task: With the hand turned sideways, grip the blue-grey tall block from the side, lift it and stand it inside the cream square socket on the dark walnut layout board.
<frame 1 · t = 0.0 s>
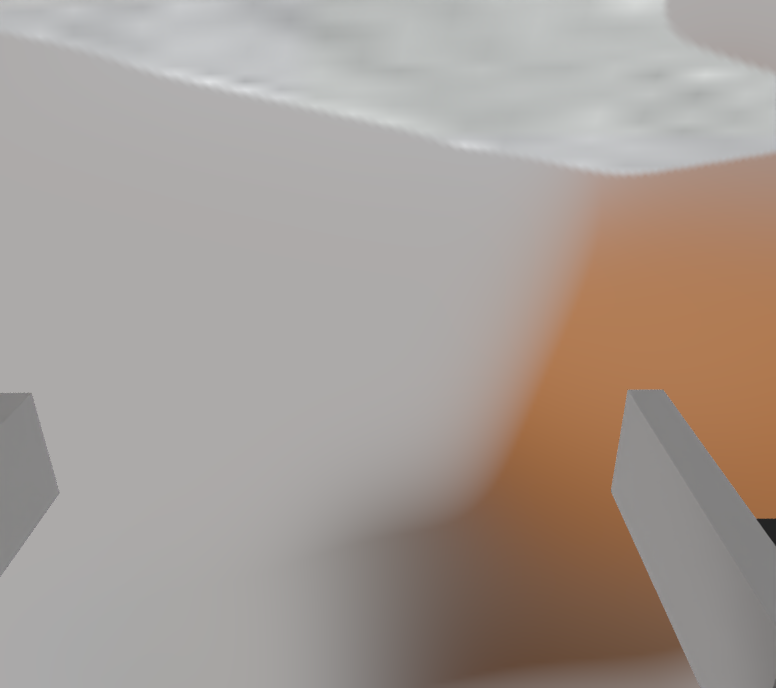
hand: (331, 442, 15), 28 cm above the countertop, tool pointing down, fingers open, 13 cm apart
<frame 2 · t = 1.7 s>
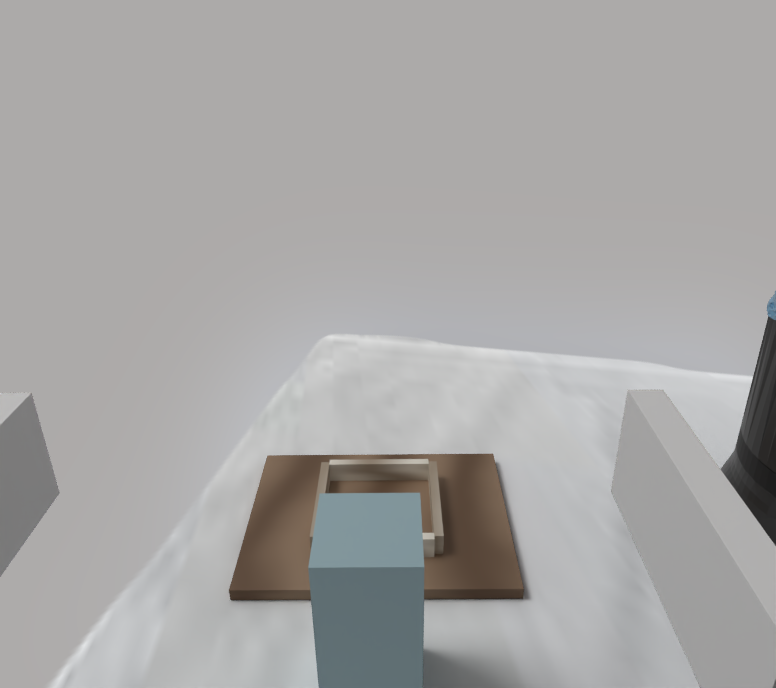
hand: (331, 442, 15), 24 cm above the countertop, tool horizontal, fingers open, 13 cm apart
blue-grey tall block: (373, 687, 36), on the countertop
layout board: (378, 522, 48), on the countertop
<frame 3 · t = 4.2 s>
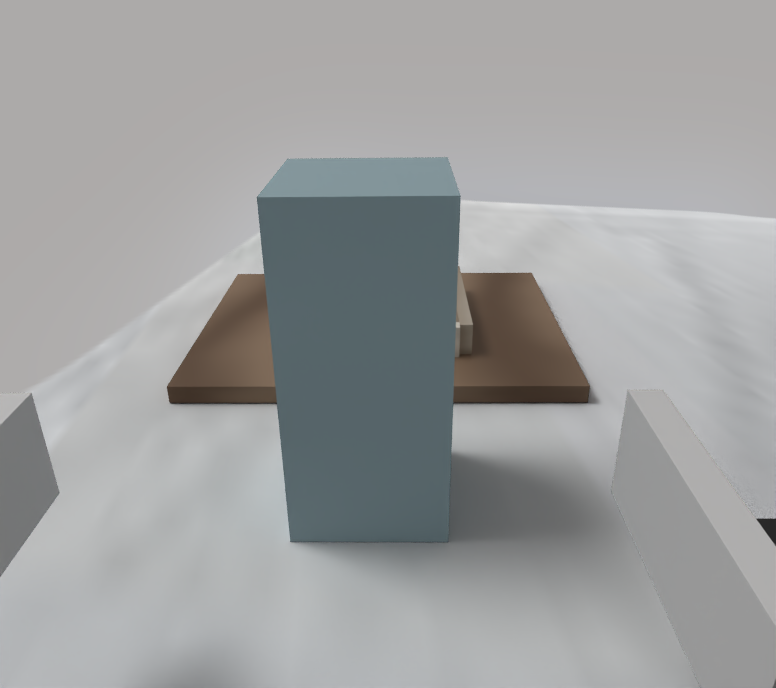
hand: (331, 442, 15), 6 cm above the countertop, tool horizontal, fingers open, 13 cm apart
blue-grey tall block: (372, 491, 24), on the countertop
layout board: (381, 333, 35), on the countertop
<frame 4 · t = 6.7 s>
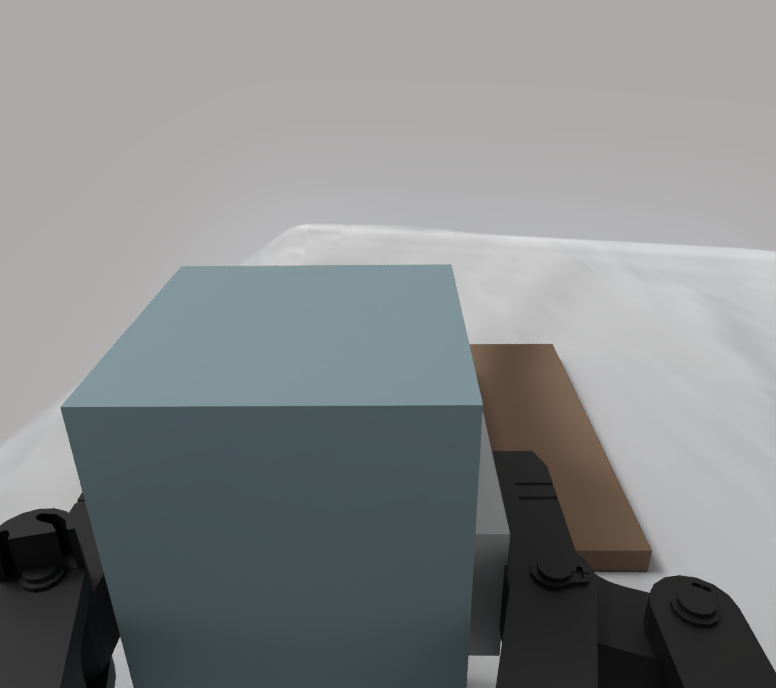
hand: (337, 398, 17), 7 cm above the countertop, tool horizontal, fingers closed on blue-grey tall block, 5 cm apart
layout board: (360, 440, 27), on the countertop
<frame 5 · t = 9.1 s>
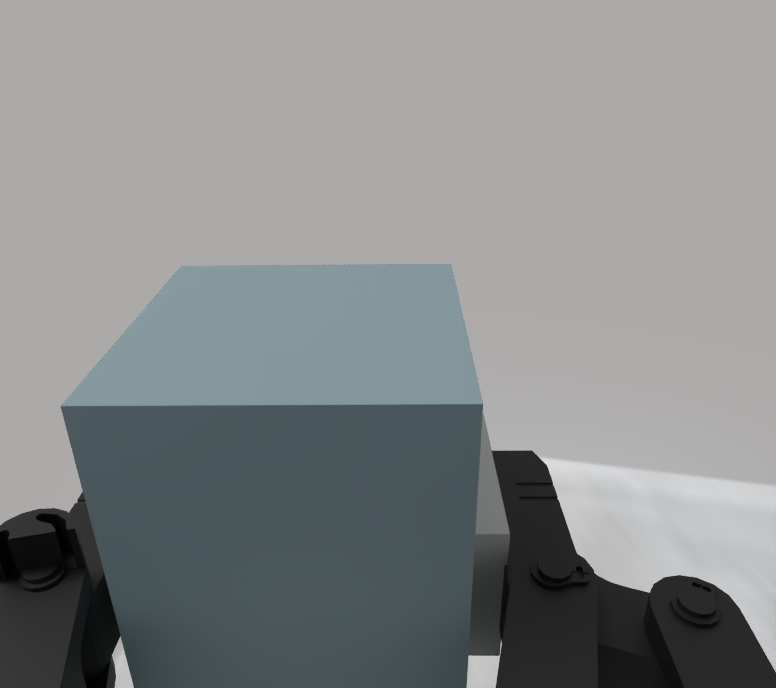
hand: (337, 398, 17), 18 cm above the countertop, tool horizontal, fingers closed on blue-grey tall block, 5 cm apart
when the fingers open (9 cm above the countertop, at t = 11.4 s): blue-grey tall block drops 1 cm, resting on layout board.
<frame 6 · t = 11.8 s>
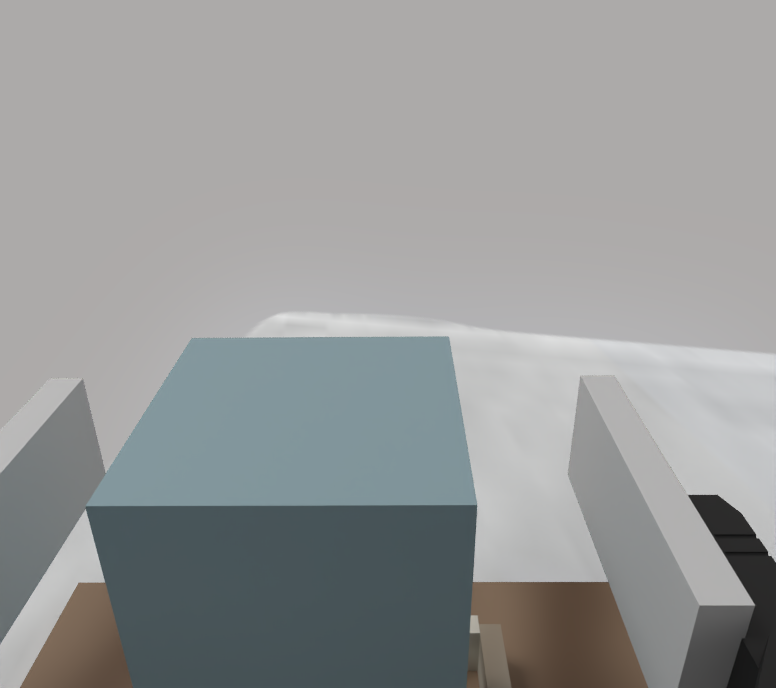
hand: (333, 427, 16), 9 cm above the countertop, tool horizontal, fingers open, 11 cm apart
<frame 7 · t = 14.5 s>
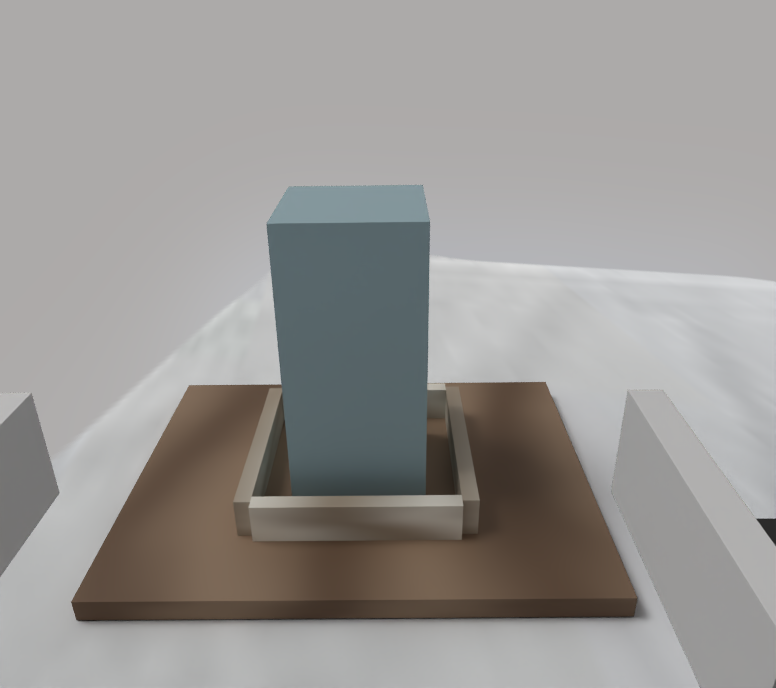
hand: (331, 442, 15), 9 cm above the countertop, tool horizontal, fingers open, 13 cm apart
blue-grey tall block: (361, 467, 28), point 1 cm above the countertop, touching layout board
layout board: (362, 483, 28), on the countertop
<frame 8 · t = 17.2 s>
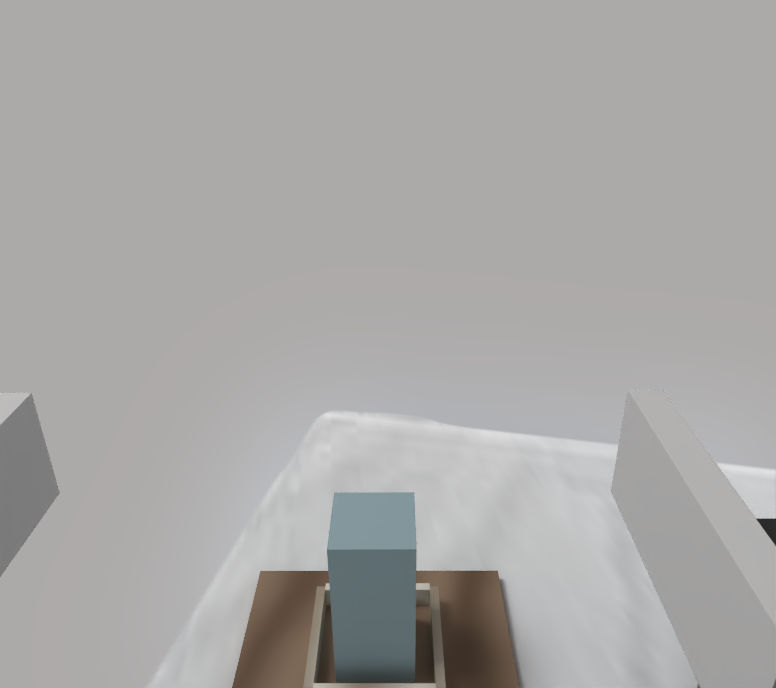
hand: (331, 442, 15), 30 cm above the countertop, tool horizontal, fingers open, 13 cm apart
blue-grey tall block: (376, 649, 45), point 1 cm above the countertop, touching layout board
layout board: (376, 657, 45), on the countertop
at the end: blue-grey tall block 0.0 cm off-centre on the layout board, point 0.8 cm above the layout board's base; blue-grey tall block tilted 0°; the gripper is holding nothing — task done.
